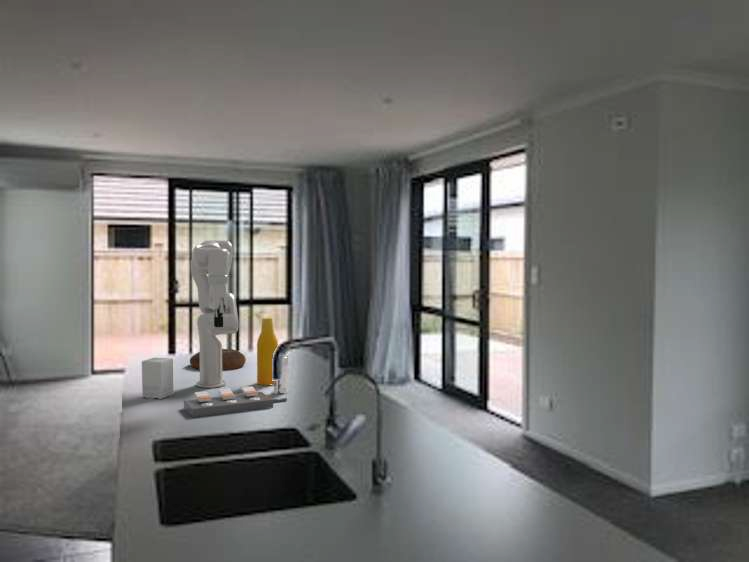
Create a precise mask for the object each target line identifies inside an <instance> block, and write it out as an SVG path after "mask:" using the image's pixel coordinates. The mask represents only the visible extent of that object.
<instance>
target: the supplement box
mask: <svg viewBox="0 0 749 562" xmlns="http://www.w3.org/2000/svg"><path fill="white" fill-rule="evenodd" d="M141 383H142V384H141V388H142V389H141V390H142V392H141V393H142V395H141V396H142V397H141V398H143V397H145V398H144V399H154V398H158V399H157V400H162V399H164V398H167V396H168V397H171V396H173V395H174V360H173V358H166V357H152V358H151V357H150V358H148V359H144V360H142V361H141ZM172 394H173V395H172Z"/></svg>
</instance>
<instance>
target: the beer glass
mask: <svg viewBox="0 0 749 562" xmlns="http://www.w3.org/2000/svg"><path fill="white" fill-rule="evenodd" d="M284 356H285V357H284V361H283V366H282V376H281V379H280V380H278V381H274V385H273V391H272V393H273V392H274V393H273V394H275V393H286V392H288V393H289V389H288V388H289V387H288V377H289V372H290V361H289V356H288V355H284ZM286 394H287V393H286Z"/></svg>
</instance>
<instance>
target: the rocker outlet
mask: <svg viewBox="0 0 749 562" xmlns="http://www.w3.org/2000/svg"><path fill="white" fill-rule="evenodd" d="M194 396H195V399H197V400H198V401H199V402H204V401H211V396H210V394H209V393H208V391H205V390H204V391H196V392H194Z"/></svg>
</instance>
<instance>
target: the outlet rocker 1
mask: <svg viewBox="0 0 749 562" xmlns="http://www.w3.org/2000/svg"><path fill="white" fill-rule="evenodd" d="M218 394H219V395H220V396H221V397H222V399H223V400H227V399H235V395H236V394H235V393H234V392H233V390H231V388H230V387H228V388H219V389H218Z"/></svg>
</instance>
